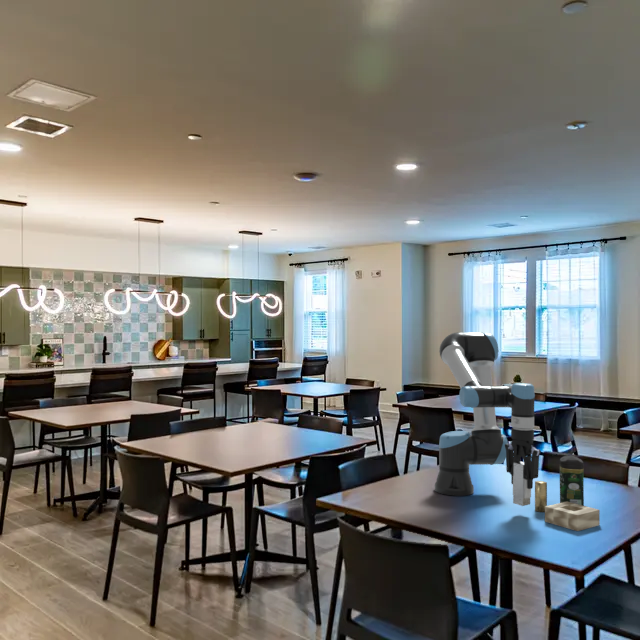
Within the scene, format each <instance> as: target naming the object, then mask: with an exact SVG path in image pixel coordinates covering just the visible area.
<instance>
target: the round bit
mask: <svg viewBox="0 0 640 640" xmlns="http://www.w3.org/2000/svg"><path fill="white" fill-rule="evenodd" d="M545 506H548V482H546V481H542V480H537V481H534V511H535V512H537V513H545Z"/></svg>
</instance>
